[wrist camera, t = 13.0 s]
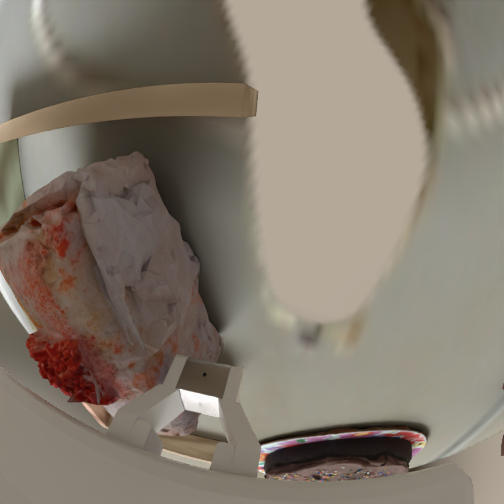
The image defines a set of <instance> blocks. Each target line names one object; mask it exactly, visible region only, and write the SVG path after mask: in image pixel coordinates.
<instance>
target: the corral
mask: <svg viewBox="0 0 504 504" xmlns="http://www.w3.org/2000/svg"><path fill="white" fill-rule="evenodd" d="M257 100H258V91H257V90H255V89H254V88H252V87H250V86H248V85H247V84H245V83H185V84H169V85H157V86H147V87H139V88H131V89H125V90H118V91H112V92H107V93H101V94H96V95H92V96H87V97H83V98H78V99H74V100H70V101H67V102H63V103H59V104H56V105H52V106H49V107H46V108H43V109H40V110H36V111H34V112H31V113H28V114H25V115H22V116H20V117H17V118H14V119H12V120H9V121H7V122H4V123H2V124H0V227H1V226H2V225H4V224H5V223H6V222H7V221H9V219H10V218H11V216H12V214H13V213H14V212H15V211H16V210H17V209H18V208H19V206H20V205H21V204H22V203H23V202H24V201H25V197H24V191H23V185H22V179H21V172H20V164H19V154H18V142H17V138H20V137H24V136H28V135H31V134H36V133H40V132H44V131H49V130H53V129H58V128H64V127H69V126H75V125H81V124H87V123H94V122H102V121H110V120H119V119H130V118H144V117H163V116H220V117H240V118H243V117H252V116H256V110H257ZM22 310H23V309H22ZM23 312H24V311H23ZM24 314H25V316H26V318H27V319H28V321H29V323H30V325H31V327H32V329H33V331H34V332H36V331H37V330H36V328H35V327H34V325H33V324H32V322H31V321H30V319H29V318H28V316H27V315H26V313H25V312H24ZM82 403H83V405H84V406H85V407H86V408H87V410H88V411H89V412H90V413H91V414H92V415H93V416H94V418H95V419H96V420H97V421H98V422H99V423H100V424H101V425H102V427H105V428H107V429H108V428H109V426H110V424H111V422H112V420H113V417H112V416H110V415H111V414H110V413H109V412H108V411H107V410H106V409H105V408H104V407H102V406H101V405H94V404H90V403H85V402H82ZM157 435H158V434H157ZM158 436H159V438H160V439H161V441H162V442H163V444H164V446H163V449H162V450H163V451H166V452H169V453H172V454H176V455H179V456H183V457H186V458H190V459H194V460H198V461H202V462H206V463H212V459H213V456H214V452H215V449H216V445H217V443H219V442H221V441H216V440H211V439H207V438H203V437H198V436H194V435H191V434H189V435H185V436H168V435H158ZM225 443H226V442H225Z"/></svg>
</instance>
